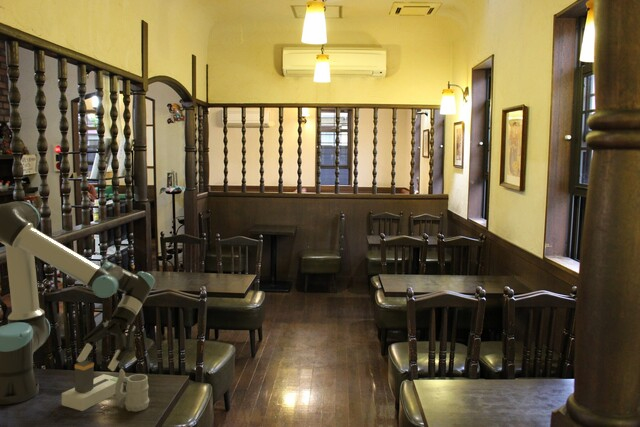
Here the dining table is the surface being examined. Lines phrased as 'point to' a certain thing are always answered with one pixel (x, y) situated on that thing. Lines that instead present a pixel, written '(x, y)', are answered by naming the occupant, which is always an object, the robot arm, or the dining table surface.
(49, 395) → the dining table surface
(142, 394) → the mug
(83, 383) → the lever
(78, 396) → the switch box
